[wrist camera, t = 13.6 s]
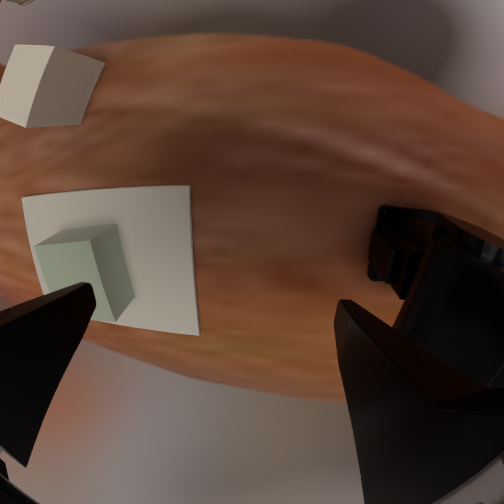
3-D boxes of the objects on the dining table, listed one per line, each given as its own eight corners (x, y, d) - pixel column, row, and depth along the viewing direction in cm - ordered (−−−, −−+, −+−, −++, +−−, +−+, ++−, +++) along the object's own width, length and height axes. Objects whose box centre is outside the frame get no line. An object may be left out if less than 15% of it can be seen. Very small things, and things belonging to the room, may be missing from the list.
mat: (190, 184, 20) (188, 185, 20) (200, 332, 26) (199, 335, 25) (24, 196, 21) (21, 197, 21) (51, 307, 27) (48, 309, 26)
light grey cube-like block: (105, 63, 17) (54, 46, 10) (80, 125, 19) (25, 127, 12) (64, 55, 16) (15, 44, 9) (43, 111, 18) (-9, 113, 12)
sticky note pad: (116, 223, 21) (89, 240, 18) (135, 296, 24) (115, 322, 20) (61, 230, 22) (34, 246, 18) (80, 295, 25) (59, 316, 21)
